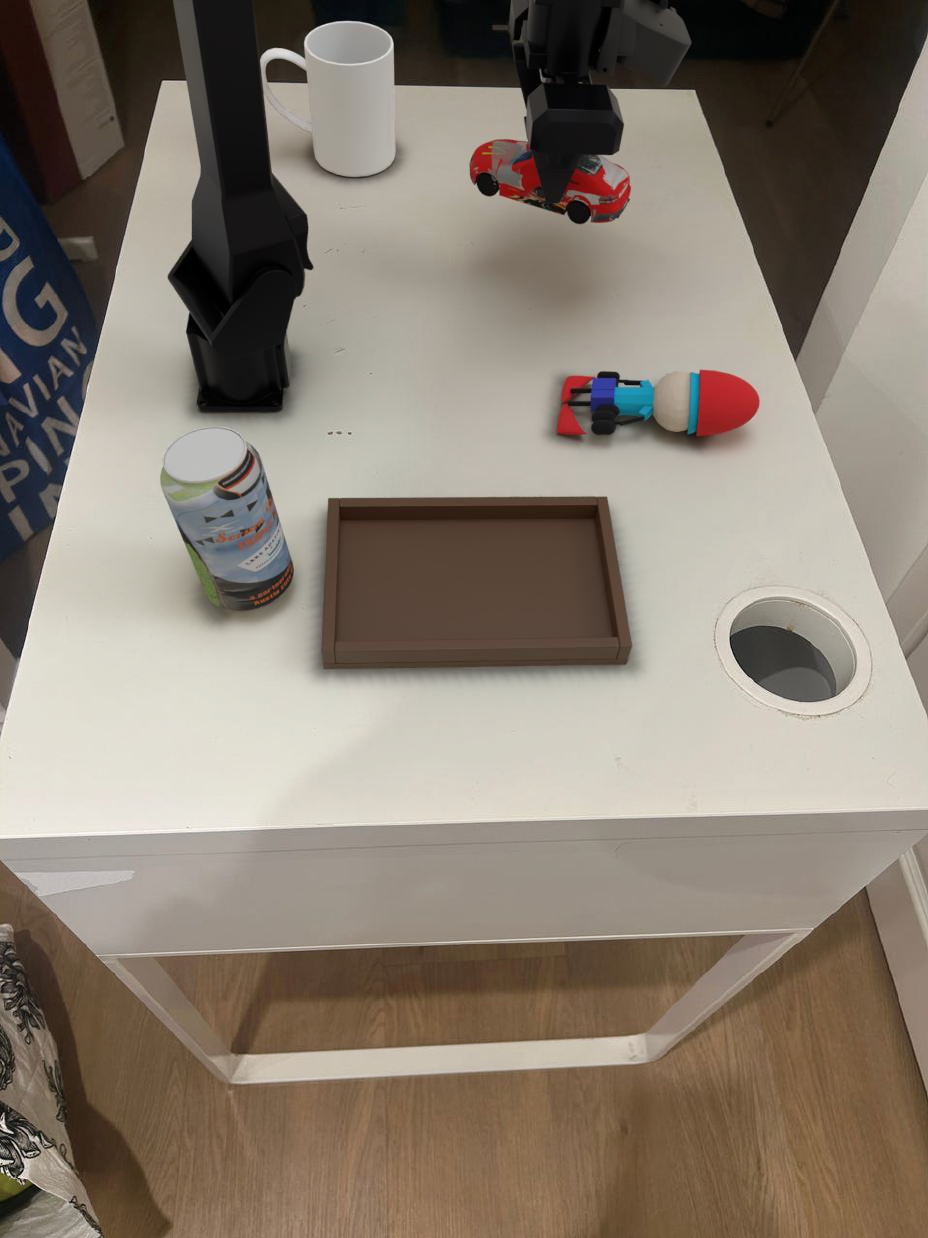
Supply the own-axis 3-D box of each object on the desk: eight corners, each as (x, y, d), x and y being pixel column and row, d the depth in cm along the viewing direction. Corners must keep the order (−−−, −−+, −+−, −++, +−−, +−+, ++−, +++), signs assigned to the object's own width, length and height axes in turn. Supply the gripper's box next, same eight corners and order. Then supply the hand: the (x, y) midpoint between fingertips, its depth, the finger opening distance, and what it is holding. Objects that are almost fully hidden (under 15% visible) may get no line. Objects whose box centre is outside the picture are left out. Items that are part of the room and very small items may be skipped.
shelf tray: (323, 669, 62) (321, 651, 60) (330, 517, 69) (328, 497, 68) (626, 663, 63) (632, 646, 62) (602, 515, 70) (607, 495, 69)
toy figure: (556, 456, 75) (757, 459, 73) (553, 405, 72) (765, 406, 69) (565, 396, 80) (754, 396, 77) (563, 345, 76) (761, 343, 74)
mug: (393, 132, 97) (391, 20, 89) (397, 177, 93) (395, 64, 84) (270, 133, 96) (256, 20, 88) (269, 179, 92) (253, 65, 83)
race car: (457, 189, 78) (458, 141, 75) (485, 156, 81) (488, 108, 78) (609, 237, 76) (618, 190, 72) (633, 202, 78) (643, 154, 75)
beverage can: (257, 638, 63) (228, 519, 53) (171, 587, 65) (127, 463, 55) (316, 573, 66) (298, 449, 56) (231, 527, 68) (200, 399, 58)
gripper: (725, 28, 60) (667, 251, 73) (672, -98, 70) (630, 117, 83) (545, 22, 59) (519, 249, 72) (519, -104, 69) (500, 113, 82)
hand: (547, 177), depth 77 cm, fingers closed on race car, 6 cm apart
